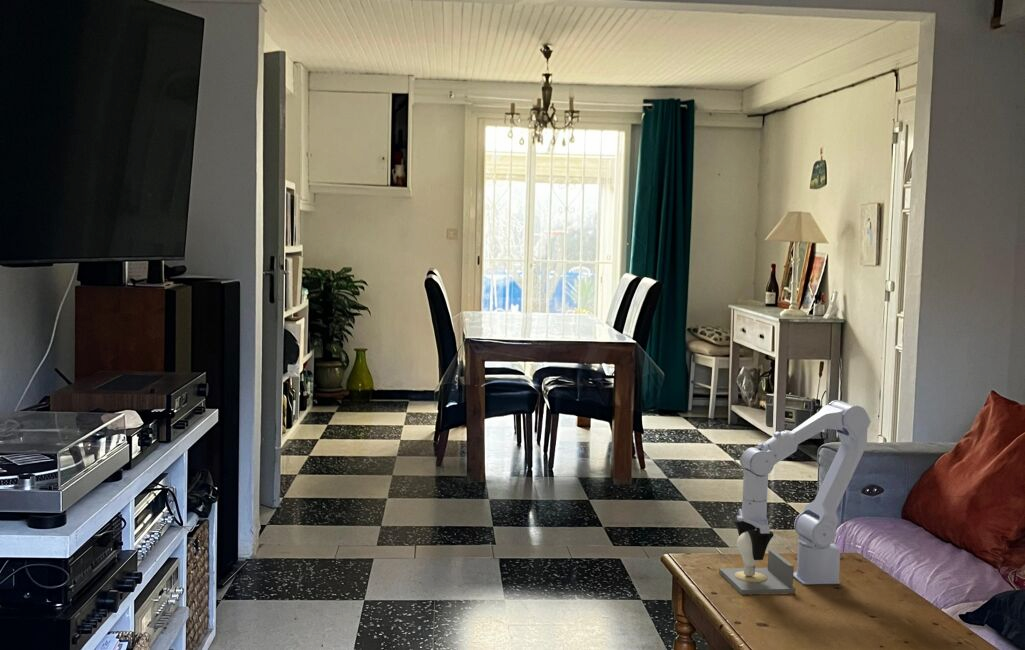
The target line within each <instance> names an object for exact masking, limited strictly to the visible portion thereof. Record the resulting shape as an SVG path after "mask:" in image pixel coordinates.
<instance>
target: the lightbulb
mask: <svg viewBox="0 0 1025 650" xmlns="http://www.w3.org/2000/svg"><path fill="white" fill-rule="evenodd" d="M736 546H737V549H738V550H737V551H738V552H739V554H740V555H741V558H742V563H743V568H744V574H745V575H746V576H748V577H751V576H753V575H755V568H756V565H757V563H758V560H754V559H753V553H752V542H751V538H750V535H749V533H748V531H746V532H744V533H742V534H741V535H740V536H739V535H738V538H737V540H736Z"/></svg>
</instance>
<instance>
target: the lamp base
mask: <svg viewBox="0 0 1025 650" xmlns="http://www.w3.org/2000/svg"><path fill="white" fill-rule="evenodd" d="M767 551H768V553H767V554H768V555H767V567H755V575H753V576H751V577H748V576H746V575H745V574H744V567H737V568H736V567H733V568H730V567H729V568H727V567H726V568H718V574H719V573H720V574H721V575H722V576H723V577H724V579H725V581H726V582H728V584H729V585H731V586H732V588H734V587H735V588H734V589H735V591H737V592H738V593H739V594H740V593H741V594H740V595H741V596H746V595H745V594H750V596H751V595H752V594H760V595H765V594H764V593H775V594H774V595H782V594H781V593H785V594H784V595H787V594H786V593H795V594H796V588H795V587H794V585H793V584H794V577H793V572H795V570H794V568H795V565H794V564H792V563H791V562H790V561H788V560H787V559H786V558H784V556H782V555H781V554H779V553H778V552H777V551H775V550H774V549H768V550H767ZM720 574H719V575H720ZM721 575H720V576H721ZM722 576H721V577H722ZM723 577H722V578H723ZM776 593H777V594H776Z"/></svg>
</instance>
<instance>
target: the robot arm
mask: <svg viewBox="0 0 1025 650" xmlns="http://www.w3.org/2000/svg"><path fill="white" fill-rule="evenodd" d="M870 424H871V418H870V416H869V414H868V411H866V409H865V408H864V407H863V406H860V405H854V404H852V403H849V402H845V401H843V400H841V399H835V400H831V402H829V404H825V405H823V406H822V407H821V408H820V410H819V411H818V412H816V413H815V414H814V415H812V416H811V417H809V418H808V419H806V420H805V421H803V422H802V423H801V424H799V425H798V426H796V427H795V428H794V429H792V430H791V431H789V432H788V431H784V430H782V431H779V430H778V431H775V432H774V433H773V436H772V437H770V438H768V439H766V441H764V442H759V443H758V444H757V445H756V447H753V446H752V447H749V448H748V447H747V449H746V450H744V452H743V453H742V454H741V457H740V458H739V463H740V465H741V467H742V469H743V479H742V482H743V483H742V484H743V485H742V497H741V499H742V503H741V505H742V506H741V508H738V515H737V516H736V519H734V520H733V523H734V525H735V527H736V530H737V533H738V537H739V536H740V535H741V534H742V533H744V532H746V531H748V533H749V535H750V538H751V542H752V553H753V559H754V560H757V561H763V560H764V557H765V555H766V550H767V547H768V545H769V544H770V541H771V540H772V538H773V537H774V532H773V531H771V530H770V529H771V528H770V527H771V525H770V524H769V522H768V517H767V513H768V512H767V508H768V489H769V488H768V487H769V474H771V473H772V471H773V469H774V467H775V465H777V464H778V463H779V462H781V461H783V460H785V459H786V458H788V457H789V456H792V454H794V453H795V452H797V450H798V446H799V444H801V443H803V442H806V440H809V439H810V438H812V437H814V436H816V435H818V434H820V433H821V432H823V431H825V430H835V432H836V434H837V436H838V437H839V441H840V446H839V448H838V450H837V452H836V453H835V456H834V457H833V460H832V462H831V465H830V467H829V468H828V471H827V473H826V475H825V476H824V479H823V481H822V484H821V486H820V488H819V489H818V492H817V493H816V496H815V498H814V500H813V501H810V502H809V503H807V504H806V505H805V506H804V508H803V510H802V511H801V512H800V513H799V514H798V515H797V516H796V517H795V518H794V519H795V520H794V522H793V528H794V531H795V532H796V533H797V535H798V537H797V543H798V544H797V561H796V571H794V572H793V578H794V579H795V580H797V581H798V582H800V584H803V585H838V584H839V585H840V584H841V581H840V580H839V579H840V566H841V565H840V564H841V553H840V549H839V547H838V545H837V544H836V543H833V542H834V541H835V538H836V535H837V533H836V532H837V526H838V524H839V519H838V515H837V509H838V507H839V506H840V503H841V501H842V499H843V496H844V495H845V492H846V491H847V488H848V486H849V484H850V481H851V480H852V478H853V475H854V473H855V471H856V469H857V467H858V465H859V463H860V460H861V458H862V456H863V454H864V452H865V450H866V447H867V445H868V429H869V426H870Z"/></svg>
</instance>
